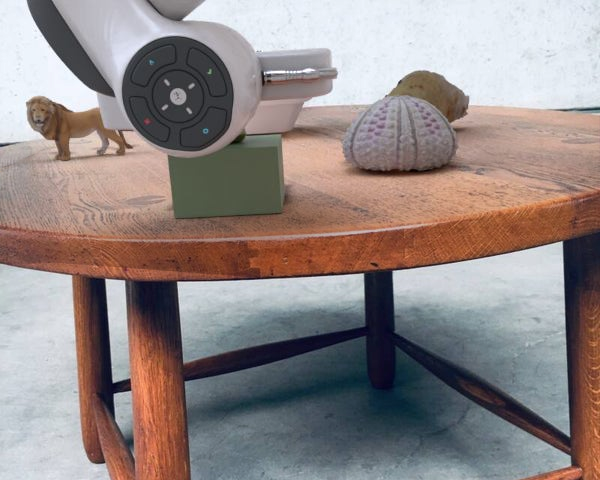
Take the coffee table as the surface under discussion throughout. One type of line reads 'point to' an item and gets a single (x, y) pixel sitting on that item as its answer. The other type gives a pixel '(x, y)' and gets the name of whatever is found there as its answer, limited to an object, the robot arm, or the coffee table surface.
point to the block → (230, 180)
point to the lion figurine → (69, 126)
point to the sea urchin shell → (399, 136)
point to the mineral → (434, 93)
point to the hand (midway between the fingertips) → (222, 74)
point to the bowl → (275, 116)
